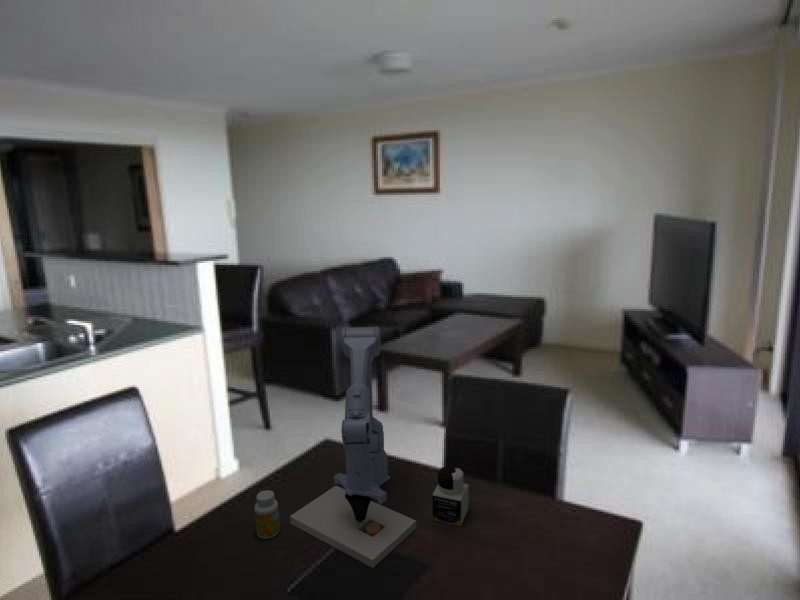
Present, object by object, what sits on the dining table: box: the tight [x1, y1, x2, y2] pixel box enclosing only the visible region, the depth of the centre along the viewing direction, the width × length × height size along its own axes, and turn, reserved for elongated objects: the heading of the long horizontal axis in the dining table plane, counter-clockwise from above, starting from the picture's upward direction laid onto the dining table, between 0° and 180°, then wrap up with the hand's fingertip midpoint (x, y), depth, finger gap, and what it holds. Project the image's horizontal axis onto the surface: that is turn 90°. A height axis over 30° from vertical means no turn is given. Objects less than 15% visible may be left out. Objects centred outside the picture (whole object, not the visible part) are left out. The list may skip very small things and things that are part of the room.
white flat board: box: [289, 485, 417, 569], centre depth 123 cm, size 26×16×2 cm, turn 53°
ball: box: [365, 521, 381, 537], centre depth 119 cm, size 4×4×4 cm
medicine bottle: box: [432, 465, 469, 527], centre depth 125 cm, size 7×7×12 cm
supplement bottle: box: [253, 489, 281, 539], centre depth 121 cm, size 5×5×10 cm
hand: (360, 519), depth 121 cm, fingers closed
